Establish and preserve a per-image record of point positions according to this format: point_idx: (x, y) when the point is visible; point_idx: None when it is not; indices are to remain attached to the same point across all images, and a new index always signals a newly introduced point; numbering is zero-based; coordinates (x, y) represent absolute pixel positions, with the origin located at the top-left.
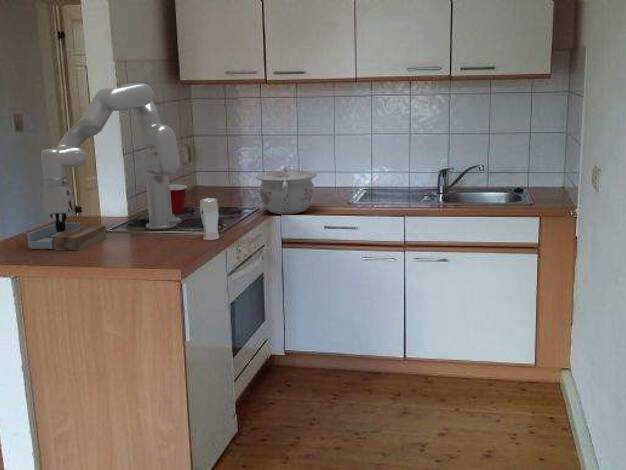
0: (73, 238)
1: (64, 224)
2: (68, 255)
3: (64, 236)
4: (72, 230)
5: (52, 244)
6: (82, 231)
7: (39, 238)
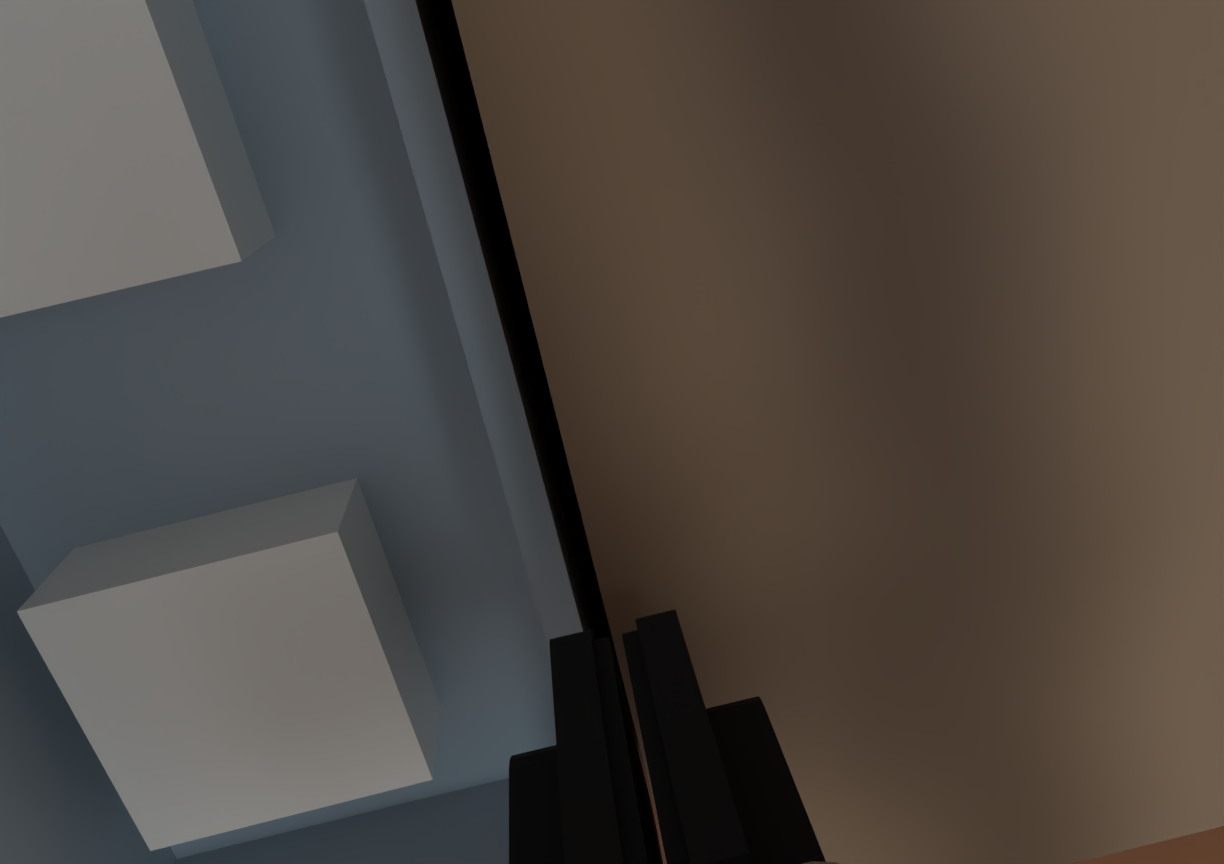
0: (1195, 809)
1: (797, 810)
2: (1116, 853)
3: (948, 842)
4: (637, 278)
5: None
6: (1059, 283)
7: (2, 729)
